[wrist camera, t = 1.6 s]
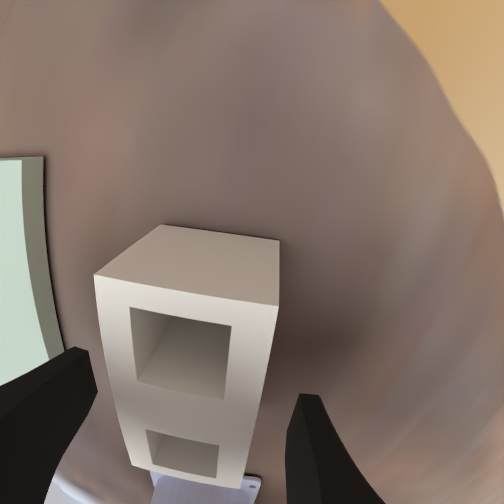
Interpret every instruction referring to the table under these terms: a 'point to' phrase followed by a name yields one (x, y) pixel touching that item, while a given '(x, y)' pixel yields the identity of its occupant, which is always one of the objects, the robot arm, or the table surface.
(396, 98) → the table surface
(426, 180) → the table surface
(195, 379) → the beige hollow block
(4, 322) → the pin plate
